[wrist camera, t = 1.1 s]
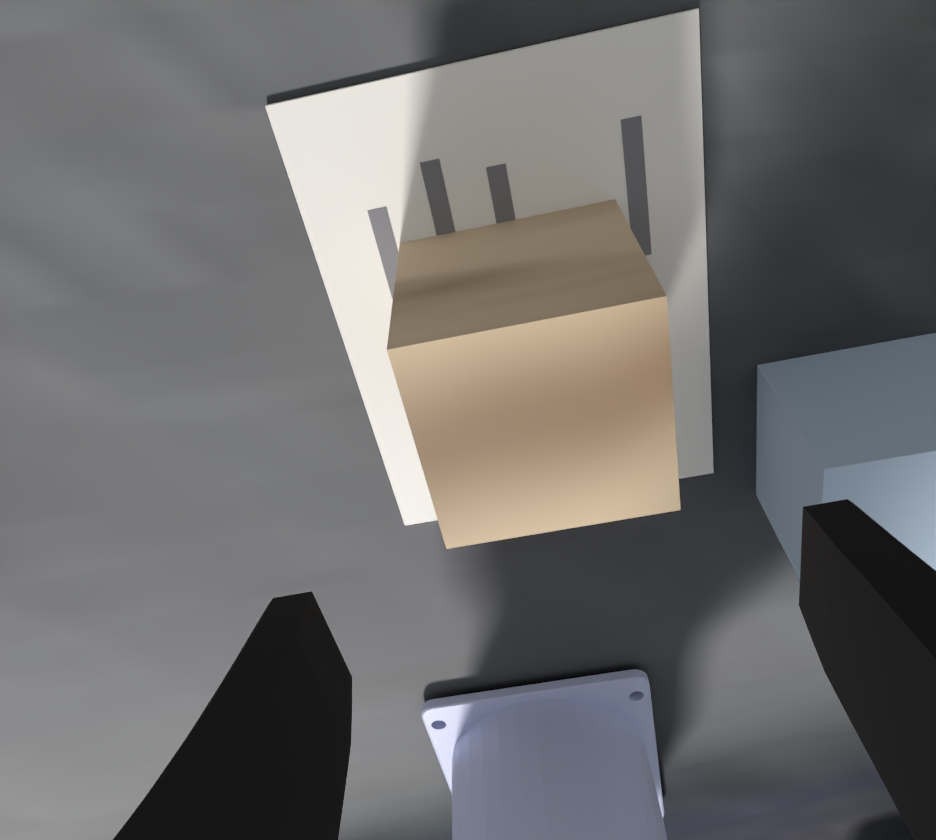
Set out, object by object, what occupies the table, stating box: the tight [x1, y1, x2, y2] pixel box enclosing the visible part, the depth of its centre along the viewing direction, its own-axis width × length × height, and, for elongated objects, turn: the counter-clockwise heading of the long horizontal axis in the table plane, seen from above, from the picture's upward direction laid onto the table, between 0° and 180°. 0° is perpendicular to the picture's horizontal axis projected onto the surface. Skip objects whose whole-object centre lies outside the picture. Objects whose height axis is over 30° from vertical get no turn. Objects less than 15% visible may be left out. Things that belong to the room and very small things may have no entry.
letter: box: [265, 8, 714, 525], centre depth 19 cm, size 12×9×1 cm
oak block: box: [387, 199, 681, 549], centre depth 17 cm, size 5×5×5 cm
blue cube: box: [756, 333, 936, 581], centre depth 20 cm, size 4×4×4 cm
